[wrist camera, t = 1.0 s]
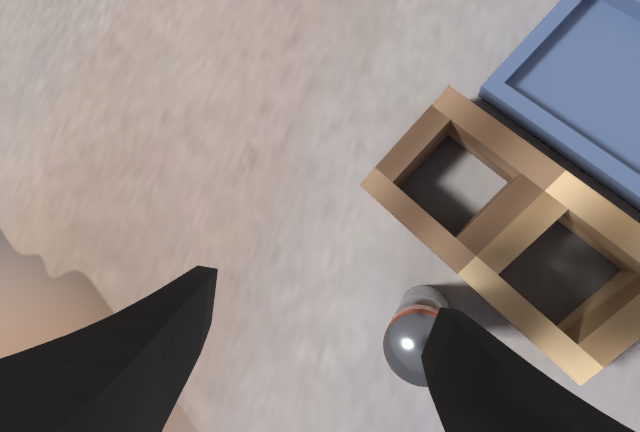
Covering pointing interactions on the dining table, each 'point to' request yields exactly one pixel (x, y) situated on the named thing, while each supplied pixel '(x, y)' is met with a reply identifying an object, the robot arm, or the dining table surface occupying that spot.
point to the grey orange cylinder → (412, 332)
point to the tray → (580, 89)
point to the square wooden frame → (485, 144)
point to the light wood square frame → (599, 309)
